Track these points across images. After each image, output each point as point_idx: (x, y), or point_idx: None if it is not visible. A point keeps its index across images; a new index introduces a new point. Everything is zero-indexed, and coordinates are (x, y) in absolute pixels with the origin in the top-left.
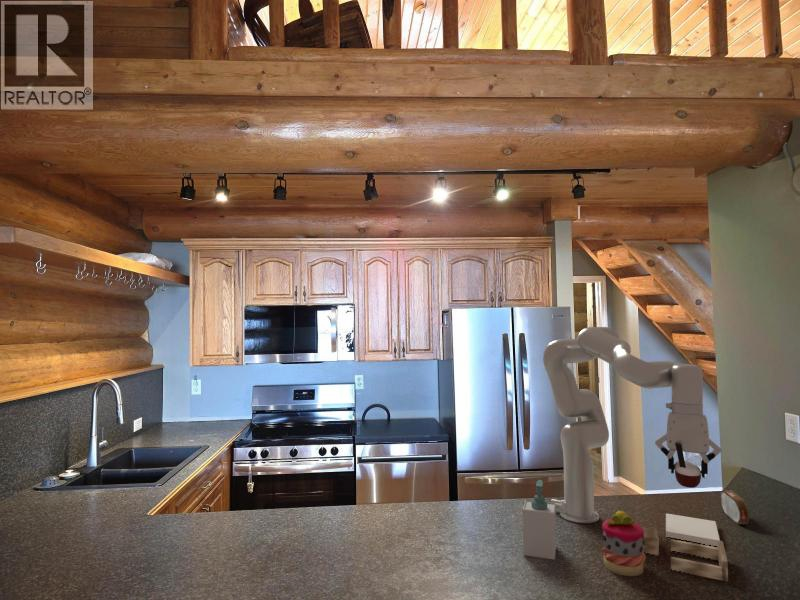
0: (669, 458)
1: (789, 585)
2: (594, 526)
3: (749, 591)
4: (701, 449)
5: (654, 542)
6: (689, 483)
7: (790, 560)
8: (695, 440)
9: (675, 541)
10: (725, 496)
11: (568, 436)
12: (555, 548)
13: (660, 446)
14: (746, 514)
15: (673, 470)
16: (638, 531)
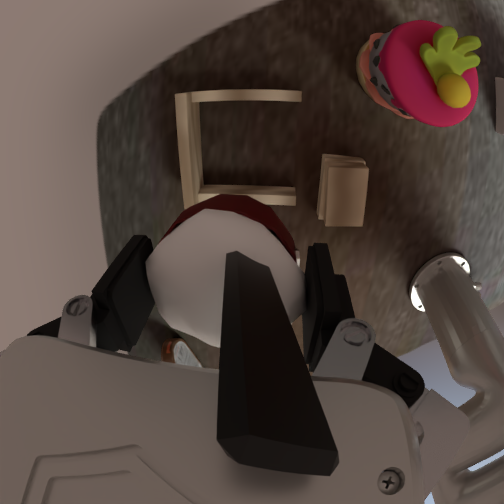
0: (352, 319)
1: (100, 142)
2: (425, 249)
3: (155, 73)
4: (32, 364)
5: (334, 164)
6: (223, 195)
7: (106, 242)
8: (36, 470)
9: (285, 196)
10: None
11: None
12: (500, 107)
13: (429, 407)
14: (164, 347)
15: (314, 253)
16: (400, 36)
